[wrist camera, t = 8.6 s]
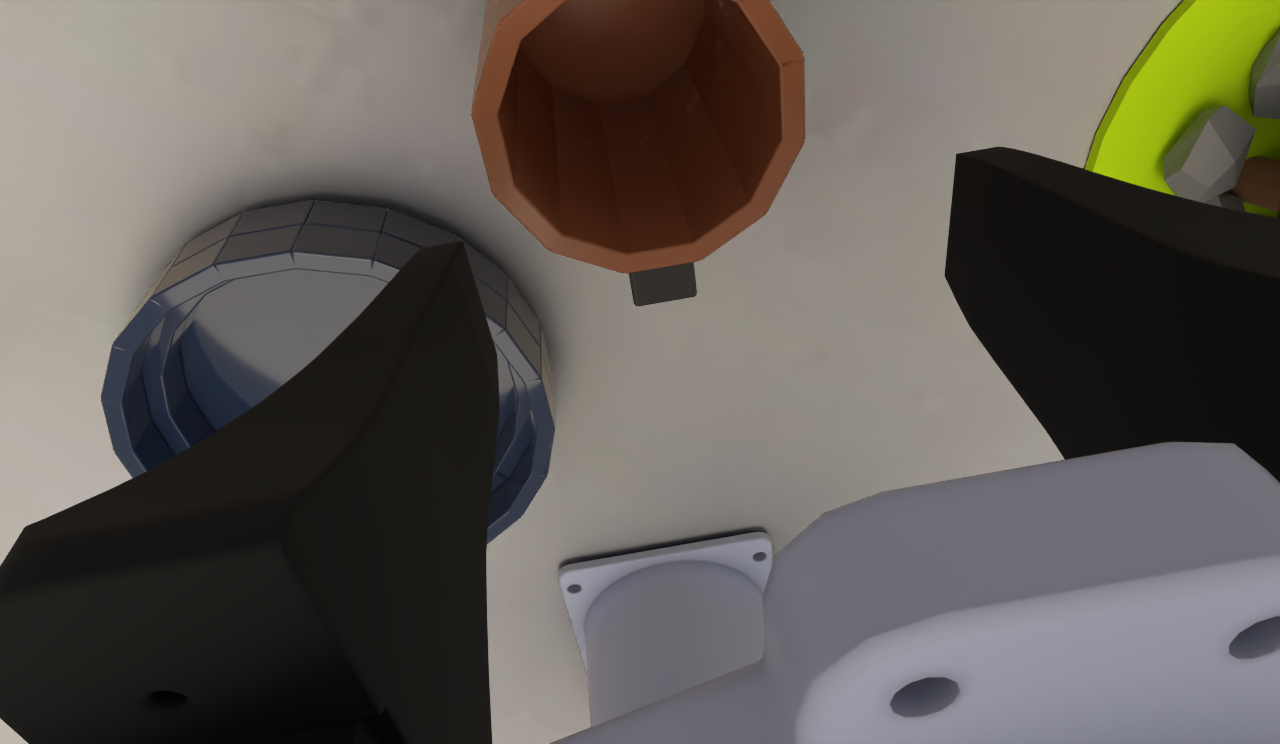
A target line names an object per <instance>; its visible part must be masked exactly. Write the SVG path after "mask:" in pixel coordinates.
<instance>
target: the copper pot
mask: <svg viewBox="0 0 1280 744" xmlns="http://www.w3.org/2000/svg"><path fill="white" fill-rule="evenodd" d="M471 115H472V119H473V123H474V127H475V130H476V134H477V138H478V142H479V146H480V149H481V153H482V157H483V161H484V164H485V168H486V172H487V176H488V180H489V183H490V187H491V191H492V193H493V194H494V196H495V197H496V198H497V199H498V200H499V201H500V202H501V203H502V204H503V205H504V206H505V207H506V208H507V209H508V210H509V211H510V212H511V213H512V214H513V215H514V216H515V217H516V218H517V219H518V220H519V221H520V222H521V223H522V224H523V225H524V226H525V227H526V228H527V229H528V230H529V231H530V232H531V233H532V234H533V235H534V236H535V237H536V238H537V239H538V240H539V241H540V242H541V243H542V244H543V245H544V246H545V247H546V248H547V249H548V250H550V251H551V252H553V253H557V254H560V255H563V256H567V257H570V258H573V259H577V260H580V261H583V262H587V263H590V264H593V265H597V266H600V267H603V268H606V269H610V270H613V271H616V272H620V273H629V277H630V283H631V289H632V295H633V300H634V304H635V305H636V306H643V305H649V304H655V303H660V302H666V301H672V300H678V299H684V298H689V297H694V296H696V294H697V289H696V279H695V270H694V262H696V261H700V260H702V259H704V258H705V257H707V256H708V255H710V254H711V253H713V252H714V251H715V250H717V249H718V248H720V247H721V246H722V245H724V244H725V243H727V242H728V241H729V240H731V239H732V238H734V237H735V236H736V235H738V234H739V233H741V232H742V231H743V230H745V229H746V228H748V227H749V226H750V225H752V224H753V223H755V222H756V221H757V220H759V219H760V218H762V217H763V216H764V215H765V214H766V213H767V212H768V210H769V208H770V206H771V204H772V203H773V201H774V199H775V197H776V195H777V193H778V191H779V189H780V187H781V186H782V184H783V182H784V180H785V178H786V176H787V174H788V172H789V171H790V169H791V167H792V165H793V163H794V161H795V159H796V157H797V155H798V154H799V152H800V150H801V148H802V146H803V144H804V140H805V79H804V56H803V52H802V51H801V49H800V47H799V46H798V44H797V43H796V41H795V40H794V38H793V36H792V35H791V33H790V32H789V30H788V29H787V27H786V26H785V24H784V22H783V21H782V19H781V18H780V16H779V15H778V13H777V11H776V10H775V8H774V7H773V5H772V4H771V2H770V1H769V0H487V7H486V13H485V20H484V27H483V34H482V41H481V47H480V54H479V61H478V68H477V75H476V82H475V88H474V95H473V102H472V114H471Z"/></svg>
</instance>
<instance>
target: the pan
mask: <svg viewBox="0 0 1280 744" xmlns="http://www.w3.org/2000/svg"><path fill="white" fill-rule="evenodd" d="M458 241H463V240H462V239H460V238H459V237H458V236H456V235H455V236H454V234H453V233H450V232H448V231H445V230H443V229H440V228H438V227H435V226H433V225H430V224H427V223H425V222H422V221H420V220H417V219H415V218H412V217H410V216H407V215H405V214H402V213H400V212H397V211H395V210H392V209H388V210H387V209H386V208H381V207H372V206H363V205H354V204H345V203H337V202H328V201H319V200H318V201H314V200H308V201H302V202H296V203H290V204H284V205H279V206H273V207H267V208H261V209H255V210H250V211H245V212H244V213H240V214H238V215H237V216H235V217H233V218H231V219H229V220H227V221H226V222H224V223H222V224H220V225H218V226H216V227H214V228H213V229H211V230H209V231H207V232H205V233H203V234H202V235H200V236H198V237H196V238H194V239H192V240H190V241H189V242H188V243H186V244H185V245H184V246H183V247H182V249H181V250H180V251H179V252H178V253H177V255H176V256H175V257H174V258H173V260H172V261H171V262H170V263H169V265H168V266H167V267H166V268H165V270H164V271H163V272H162V273H161V274H160V276H159V277H158V278H157V279H156V281H155V282H154V283H153V284H152V286H151V287H150V289H149V290H148V292H147V293H146V294H145V296H144V297H143V299H142V300H141V302H140V303H139V305H138V306H137V308H136V309H135V311H134V313H133V314H132V315H131V317H130V318H129V320H128V321H127V323H126V324H125V326H124V327H123V329H122V330H121V332H120V333H119V335H118V336H117V338H116V339H115V341H114V342H113V344H112V347H111V352H110V356H109V361H108V366H107V370H106V375H105V379H104V384H103V389H102V393H101V402H102V406H103V410H104V414H105V418H106V422H107V426H108V430H109V434H110V438H111V442H112V446H113V450H114V451H115V454H116V455H117V457H118V458H119V460H120V461H121V462H122V464H123V465H124V467H125V468H126V469H127V471H128V472H129V474H130V475H131V476H132V478H135V477H137V476H138V475H140V474H142V473H144V472H146V471H148V470H150V469H152V468H154V467H155V466H157V465H159V464H161V463H163V462H165V461H167V460H169V459H171V458H172V457H174V456H176V455H178V454H179V453H181V452H183V451H185V450H186V449H188V448H190V447H192V446H193V445H195V444H197V443H198V442H200V441H202V440H203V439H205V438H207V437H208V436H210V435H211V434H213V433H214V432H216V431H217V430H219V429H220V428H222V427H223V426H225V425H226V424H228V423H230V422H231V421H233V420H234V419H236V418H237V417H239V416H240V415H242V414H243V413H245V412H246V411H248V410H249V409H251V408H252V407H254V406H255V405H257V404H258V403H260V402H261V401H262V400H264V399H265V398H267V397H268V396H269V395H271V394H272V393H273V392H274V391H276V390H277V389H278V388H280V387H281V386H282V385H283V384H285V383H286V382H287V381H288V380H290V379H291V378H292V377H294V376H295V375H296V374H297V373H298V372H300V371H301V370H302V369H303V368H304V367H306V366H307V365H308V364H309V363H310V362H311V361H312V360H314V359H315V358H316V357H317V356H318V355H319V354H320V353H321V352H322V351H323V350H324V349H325V348H326V347H327V346H328V345H329V344H330V343H331V342H332V341H333V340H335V339H336V338H337V337H338V336H339V335H340V334H341V333H342V332H343V331H344V330H345V329H346V328H347V327H348V326H349V325H350V324H351V323H352V322H353V321H354V320H355V319H356V318H357V317H358V316H359V315H360V314H361V313H362V312H363V311H364V309H365V308H366V307H367V306H368V305H369V304H370V303H371V302H372V301H373V300H374V298H375V297H376V296H377V295H378V294H379V293H380V292H381V291H382V290H383V289H384V287H385V286H386V285H387V284H388V283H389V282H390V281H391V280H392V278H393V277H394V276H395V275H396V274H397V273H398V272H399V270H400V269H401V268H402V267H403V266H404V265H405V264H406V263H407V262H408V260H409V259H410V258H411V257H412V256H413V255H414V254H415V253H416V252H417V251H418V250H420V249H421V248H424V247H429V246H435V245H441V244H446V243H452V242H458ZM463 243H464V246H465V249H466V253H467V256H468V259H469V263H470V266H471V269H472V273H473V276H474V279H475V282H476V286H477V289H478V292H479V296H480V299H481V302H482V306H483V309H484V312H485V316H486V319H487V322H488V326H489V329H490V332H491V335H492V339H493V342H494V345H495V349H496V352H497V360H498V378H499V404H500V411H499V422H498V433H497V443H496V453H495V462H494V472H493V481H492V491H491V500H490V510H489V519H488V529H487V544H488V543H489V542H491V541H492V540H493V539H494V538H496V537H497V536H498V535H499V534H501V533H502V532H503V531H504V530H506V529H507V528H508V527H509V526H511V525H512V524H513V523H514V522H516V521H517V520H518V519H519V518H521V516H522V515H523V514H524V512H525V511H526V509H527V508H528V506H529V504H530V503H531V501H532V500H533V498H534V496H535V495H536V493H537V492H538V490H539V488H540V487H541V485H542V484H543V482H544V480H545V479H546V477H547V474H548V470H549V464H550V458H551V451H552V445H553V439H554V432H555V417H554V391H553V369H552V366H551V362H550V358H549V354H548V350H547V346H546V342H545V338H544V334H543V330H542V326H541V323H540V322H539V320H538V318H537V317H536V315H535V314H534V312H533V311H532V310H531V308H530V307H529V305H528V304H527V302H526V301H525V299H524V298H523V297H522V295H521V294H520V292H519V291H518V289H517V288H516V286H515V285H514V283H513V282H512V281H511V279H510V278H509V277H508V276H507V274H506V273H505V272H503V271H502V270H501V269H500V268H498V267H497V266H496V265H494V264H493V263H492V262H490V261H489V260H488V259H487V258H485V257H484V256H483V255H481V254H480V253H479V252H477V251H476V250H475V249H473V248H472V247H471V246H470V245H468V244H467V243H466V242H464V241H463Z"/></svg>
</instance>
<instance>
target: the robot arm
mask: <svg viewBox="0 0 1280 744" xmlns="http://www.w3.org/2000/svg"><path fill="white" fill-rule="evenodd" d="M945 278H946V280H947V282H948V284H949V286H950V288H951V290H952V292H953V294H954V297H955V299H956V301H957V303H958V305H959V307H960V309H961V311H962V312H963V314H964V316H965V318H966V320H967V322H968V324H969V326H970V327H971V329H972V330H973V332H974V333H975V334H976V336H977V337H978V339H979V340H980V342H981V343H982V344H983V346H984V347H985V348H986V350H987V351H988V353H989V354H990V355H991V357H992V358H993V360H994V361H995V362H996V364H997V365H998V366H999V368H1000V369H1001V370H1002V372H1003V373H1004V374H1005V376H1006V377H1007V379H1008V380H1009V381H1010V383H1011V384H1012V385H1013V387H1014V388H1015V389H1016V391H1017V392H1018V393H1019V395H1020V396H1021V397H1022V399H1023V400H1024V401H1025V403H1026V404H1027V406H1028V407H1029V408H1030V410H1031V411H1032V412H1033V414H1034V415H1035V416H1036V418H1037V419H1038V420H1039V422H1040V423H1041V424H1042V426H1043V427H1044V428H1045V430H1046V431H1047V433H1048V434H1049V436H1050V437H1051V439H1052V440H1053V442H1054V443H1055V445H1056V446H1057V448H1058V449H1059V451H1060V452H1061V454H1062V455H1063V457H1064V459H1065V460H1061V461H1055V462H1050V463H1044V464H1038V465H1033V466H1027V467H1021V468H1015V469H1010V470H1004V471H998V472H993V473H987V474H981V475H976V476H970V477H964V478H958V479H953V480H947V481H941V482H936V483H930V484H924V485H919V486H913V487H907V488H901V489H896V490H890V491H884V492H880V493H877V494H875V495H872V496H869V497H866V498H863V499H861V500H858V501H855V502H852V503H850V504H847V505H844V506H841V507H839V508H836V509H833V510H830V511H827V512H825V513H823V514H822V515H821V516H820V517H818V518H817V519H816V520H815V521H814V522H813V523H812V524H810V525H809V526H808V527H807V528H806V529H805V530H804V531H802V532H801V533H800V534H799V535H798V536H797V537H795V538H794V539H793V540H792V541H791V542H790V543H789V544H787V545H786V546H785V547H784V548H783V549H782V550H781V551H780V552H779V553H778V554H776V555H775V558H774V561H773V555H772V544H771V540H770V537H769V535H768V534H766V533H764V532H753V533H747V534H741V535H735V536H730V537H724V538H718V539H712V540H706V541H701V542H695V543H689V544H683V545H677V546H672V547H666V548H660V549H654V550H649V551H643V552H637V553H631V554H625V555H620V556H614V557H608V558H602V559H596V560H591V561H585V562H579V563H573V564H568V565H565V566H563V567H562V568H561V569H560V570H559V572H558V578H559V585H560V588H561V591H562V594H563V598H564V601H565V604H566V607H567V611H568V614H569V617H570V621H571V624H572V627H573V630H574V634H575V637H576V640H577V643H578V647H579V650H580V653H581V656H582V660H583V663H584V666H585V670H586V673H587V676H588V689H589V705H590V720H591V727H590V728H588V729H585V730H583V731H580V732H577V733H575V734H572V735H570V736H567V737H565V738H562V739H560V740H557V741H555V742H552V743H550V744H1280V218H1276V217H1271V216H1265V215H1260V214H1254V213H1249V212H1244V211H1238V210H1233V209H1228V208H1224V207H1219V206H1215V205H1210V204H1206V203H1202V202H1198V201H1194V200H1190V199H1186V198H1182V197H1179V196H1175V195H1171V194H1167V193H1163V192H1159V191H1156V190H1152V189H1149V188H1145V187H1142V186H1138V185H1135V184H1131V183H1128V182H1125V181H1121V180H1118V179H1115V178H1111V177H1108V176H1105V175H1102V174H1098V173H1095V172H1092V171H1089V170H1086V169H1082V168H1079V167H1076V166H1073V165H1069V164H1066V163H1063V162H1060V161H1056V160H1053V159H1050V158H1046V157H1043V156H1039V155H1036V154H1032V153H1028V152H1024V151H1020V150H1016V149H1011V148H1005V147H994V148H988V149H982V150H976V151H971V152H965V153H959V154H956V164H955V174H954V184H953V195H952V205H951V215H950V226H949V236H948V246H947V257H946V267H945ZM499 411H500V404H499V378H498V360H497V352H496V349H495V345H494V342H493V339H492V335H491V332H490V329H489V326H488V322H487V319H486V316H485V312H484V309H483V306H482V302H481V299H480V296H479V292H478V289H477V286H476V282H475V279H474V276H473V273H472V269H471V266H470V263H469V259H468V256H467V253H466V249H465V246H464V243H463V241H458V242H452V243H446V244H441V245H435V246H429V247H424V248H421V249H420V250H418V251H417V252H416V253H415V254H414V255H413V256H412V257H411V258H410V259H409V260H408V262H407V263H406V264H405V265H404V266H403V267H402V268H401V269H400V270H399V272H398V273H397V274H396V275H395V276H394V277H393V278H392V280H391V281H390V282H389V283H388V284H387V285H386V286H385V287H384V289H383V290H382V291H381V292H380V293H379V294H378V295H377V296H376V297H375V298H374V300H373V301H372V302H371V303H370V304H369V305H368V306H367V307H366V308H365V309H364V311H363V312H362V313H361V314H360V315H359V316H358V317H357V318H356V319H355V320H354V321H353V322H352V323H351V324H350V325H349V326H348V327H347V328H346V329H345V330H344V331H343V332H342V333H341V334H340V335H339V336H338V337H337V338H336V339H335V340H333V341H332V342H331V343H330V344H329V345H328V346H327V347H326V348H325V349H324V350H323V351H322V352H321V353H320V354H319V355H318V356H317V357H316V358H315V359H314V360H312V361H311V362H310V363H309V364H308V365H307V366H306V367H304V368H303V369H302V370H301V371H300V372H298V373H297V374H296V375H295V376H294V377H292V378H291V379H290V380H288V381H287V382H286V383H285V384H283V385H282V386H281V387H280V388H278V389H277V390H276V391H274V392H273V393H272V394H271V395H269V396H268V397H267V398H265V399H264V400H262V401H261V402H260V403H258V404H257V405H255V406H254V407H252V408H251V409H249V410H248V411H246V412H245V413H243V414H242V415H240V416H239V417H237V418H236V419H234V420H233V421H231V422H230V423H228V424H226V425H225V426H223V427H222V428H220V429H219V430H217V431H216V432H214V433H213V434H211V435H210V436H208V437H207V438H205V439H203V440H202V441H200V442H198V443H197V444H195V445H193V446H192V447H190V448H188V449H186V450H185V451H183V452H181V453H179V454H178V455H176V456H174V457H172V458H171V459H169V460H167V461H165V462H163V463H161V464H159V465H157V466H155V467H154V468H152V469H150V470H148V471H146V472H144V473H142V474H140V475H138V476H137V477H135V478H133V479H131V480H128V481H126V482H124V483H122V484H120V485H118V486H116V487H114V488H112V489H110V490H108V491H105V492H103V493H101V494H99V495H97V496H94V497H92V498H90V499H88V500H85V501H83V502H81V503H79V504H77V505H74V506H72V507H70V508H68V509H65V510H63V511H61V512H59V513H56V514H54V515H52V516H50V517H48V518H45V519H43V520H40V521H38V522H36V523H33V524H31V525H28V526H26V527H25V528H24V529H23V531H22V532H21V534H20V536H19V537H18V539H17V541H16V542H15V544H14V545H13V547H12V548H11V550H10V552H9V553H8V555H7V556H6V558H5V560H4V561H3V563H2V564H1V566H0V718H1V719H2V720H3V721H4V722H5V723H6V724H7V725H9V726H10V727H11V728H12V729H13V730H14V731H15V732H16V733H18V734H19V735H20V736H21V737H22V738H23V739H24V740H25V741H27V742H28V743H29V744H492V730H491V709H490V689H489V665H488V633H487V586H486V548H487V529H488V519H489V510H490V500H491V491H492V481H493V472H494V462H495V453H496V443H497V433H498V422H499ZM758 552H760V553H758ZM573 584H576V585H573Z"/></svg>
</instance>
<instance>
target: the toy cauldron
mask: <svg viewBox="0 0 1280 744" xmlns="http://www.w3.org/2000/svg"><path fill="white" fill-rule="evenodd" d="M1085 169H1086V170H1089V171H1092V172H1095V173H1098V174H1102V175H1105V176H1108V177H1111V178H1115V179H1118V180H1121V181H1125V182H1128V183H1131V184H1135V185H1138V186H1142V187H1145V188H1149V189H1152V190H1156V191H1159V192H1163V193H1167V194H1171V195H1175V196H1179V197H1182V198H1186V199H1190V200H1194V201H1198V202H1202V203H1206V204H1210V205H1215V206H1219V207H1224V208H1228V209H1233V210H1238V211H1244V212H1249V213H1254V214H1260V215H1265V216H1271V217H1276V218H1280V0H1184V1H1183V2H1182V3H1181V4H1180V5H1179V6H1178V7H1177V8H1176V10H1175V11H1174V12H1173V13H1172V14H1171V15H1170V16H1169V17H1168V18H1167V19H1166V20H1165V22H1164V23H1163V24H1162V25H1161V26H1160V28H1159V29H1158V31H1157V32H1156V34H1155V35H1154V36H1153V38H1152V39H1151V41H1150V42H1149V44H1148V45H1147V46H1146V48H1145V49H1144V51H1143V52H1142V54H1141V55H1140V56H1139V58H1138V59H1137V61H1136V62H1135V63H1134V65H1133V66H1132V68H1131V69H1130V71H1129V72H1128V73H1127V75H1126V76H1125V78H1124V79H1123V81H1122V83H1121V85H1120V87H1119V89H1118V91H1117V93H1116V95H1115V97H1114V99H1113V101H1112V103H1111V105H1110V107H1109V109H1108V111H1107V113H1106V115H1105V117H1104V119H1103V121H1102V123H1101V125H1100V127H1099V128H1098V130H1097V132H1096V135H1095V138H1094V142H1093V145H1092V148H1091V151H1090V154H1089V157H1088V161H1087V164H1086V167H1085Z"/></svg>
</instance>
